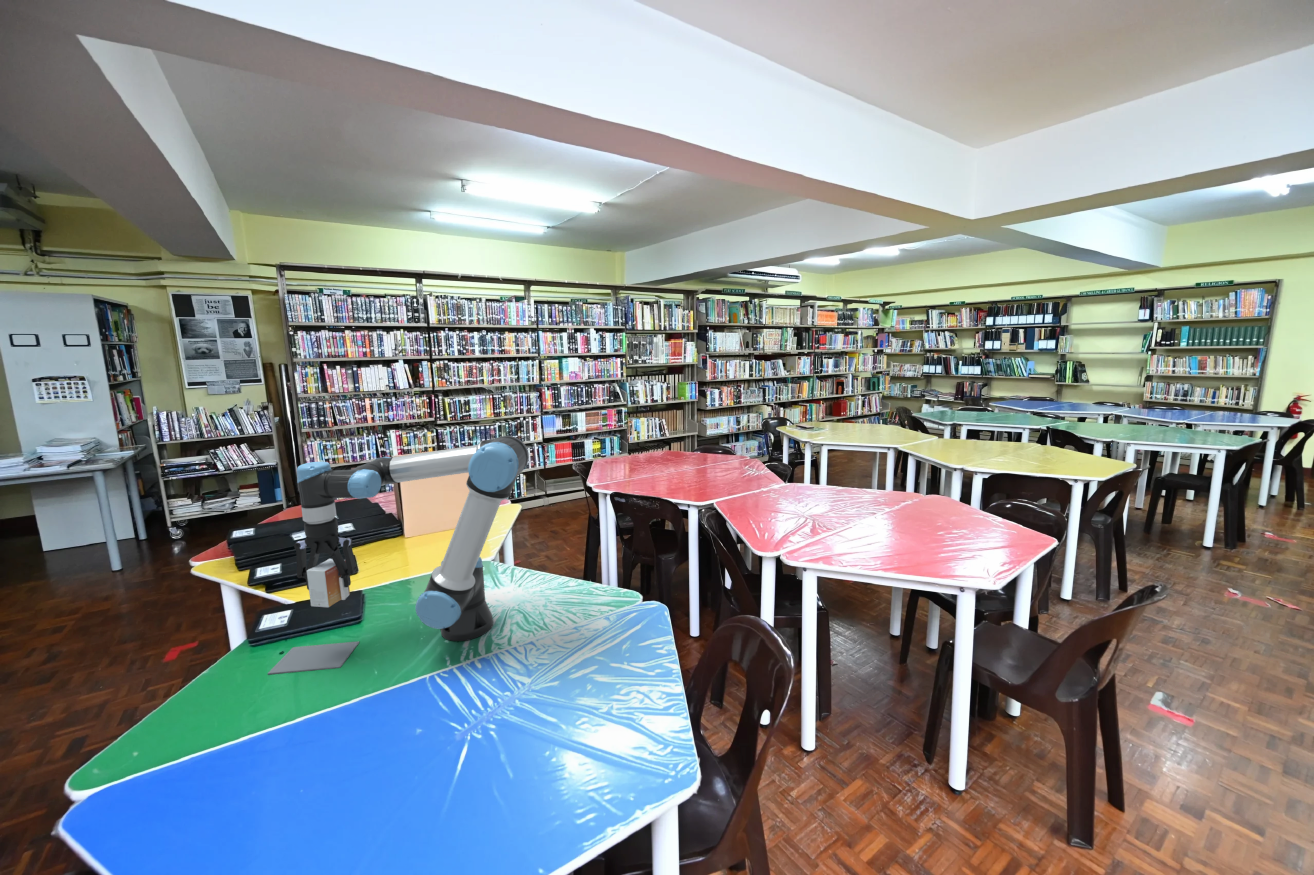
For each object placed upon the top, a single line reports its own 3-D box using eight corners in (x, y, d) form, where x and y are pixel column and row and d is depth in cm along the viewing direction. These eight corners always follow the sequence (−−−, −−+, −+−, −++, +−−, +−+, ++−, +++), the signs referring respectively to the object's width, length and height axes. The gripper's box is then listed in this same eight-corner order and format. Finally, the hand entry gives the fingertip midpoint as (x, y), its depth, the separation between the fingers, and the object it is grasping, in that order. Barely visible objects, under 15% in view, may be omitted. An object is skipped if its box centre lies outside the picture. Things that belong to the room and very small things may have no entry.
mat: (359, 642, 148) (359, 641, 148) (340, 667, 136) (340, 666, 136) (293, 648, 145) (292, 647, 145) (267, 674, 134) (267, 673, 133)
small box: (328, 608, 134) (324, 571, 132) (310, 606, 135) (305, 570, 133) (351, 594, 142) (347, 559, 140) (333, 592, 143) (329, 557, 141)
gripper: (365, 512, 140) (374, 589, 144) (288, 517, 137) (299, 595, 141) (353, 521, 132) (363, 602, 136) (271, 526, 129) (284, 608, 133)
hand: (330, 598), depth 138 cm, fingers closed on small box, 7 cm apart
